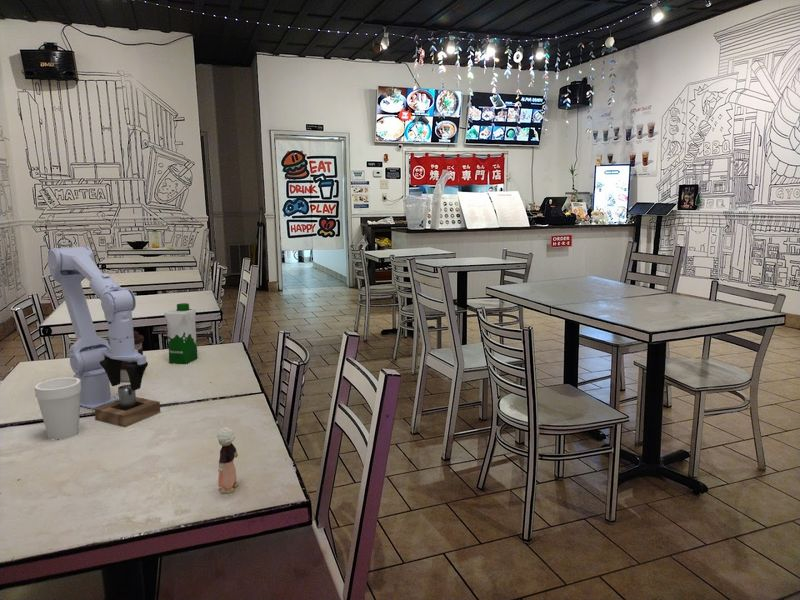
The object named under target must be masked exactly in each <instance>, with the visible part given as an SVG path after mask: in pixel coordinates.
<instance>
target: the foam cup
mask: <svg viewBox="0 0 800 600" xmlns="http://www.w3.org/2000/svg"><path fill="white" fill-rule="evenodd" d="M73 377H74V376H73ZM73 377H72V376H71V377H57V378H51V379H47V380H43V381H40V382H39V383H37V384H36V385H34V395H35V398H36V399H37V403H38V406H39V410H40V413H41V417H42V420H43V424H44V427H45V431H46V434H47V436H48V437H49V438H50V439H49V438H48V439H49V440H51V439H54V440H53V441H57V440H56V439H62V440H66V439H65V438H68V439H70V438H72V436H73V437H75V436H77V435H78V434H79V429H80V411H81V410H80V409H81V406H80V392H81V380H80V379H78V378H73ZM76 434H77V435H76ZM69 437H70V438H69Z"/></svg>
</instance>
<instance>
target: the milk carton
mask: <svg viewBox="0 0 800 600" xmlns="http://www.w3.org/2000/svg"><path fill="white" fill-rule="evenodd" d="M196 313H197V310H196V309H193V308H190V304H189V303H186V302H184V303H183V302H182V303H177V304H176V308H175V309H172V310H168V311H167V312H164V313H163V314H164V319H165V321H166V328H167V340H168V341H167V342H168V343H167V344H168V363H169V364H173V363H176V364H177V365H178V364H179V365H188V363H189V364H190V362H191V363H192V362H194V361H196V360H197V358H199V357H198V345H197V344H198V343H197V329H196V328H197V327H196Z"/></svg>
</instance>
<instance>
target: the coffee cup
mask: <svg viewBox="0 0 800 600" xmlns="http://www.w3.org/2000/svg"><path fill="white" fill-rule="evenodd" d="M133 333H134V345H135V350H138V353H139V354H141V355H144V351H143V350H144V348H143V343H144V342H145V337H144V335H142V334H139V332H138V331H137V330H133ZM108 343H109V342H108ZM109 346H110V343H109ZM128 364H131V362H127V361H122V364H121V372H120V373H121V381H120V383H128V382H129V383H130V379H129V376H128V373H127V371H126V369H125V368H124V366H125V365H128Z"/></svg>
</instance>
